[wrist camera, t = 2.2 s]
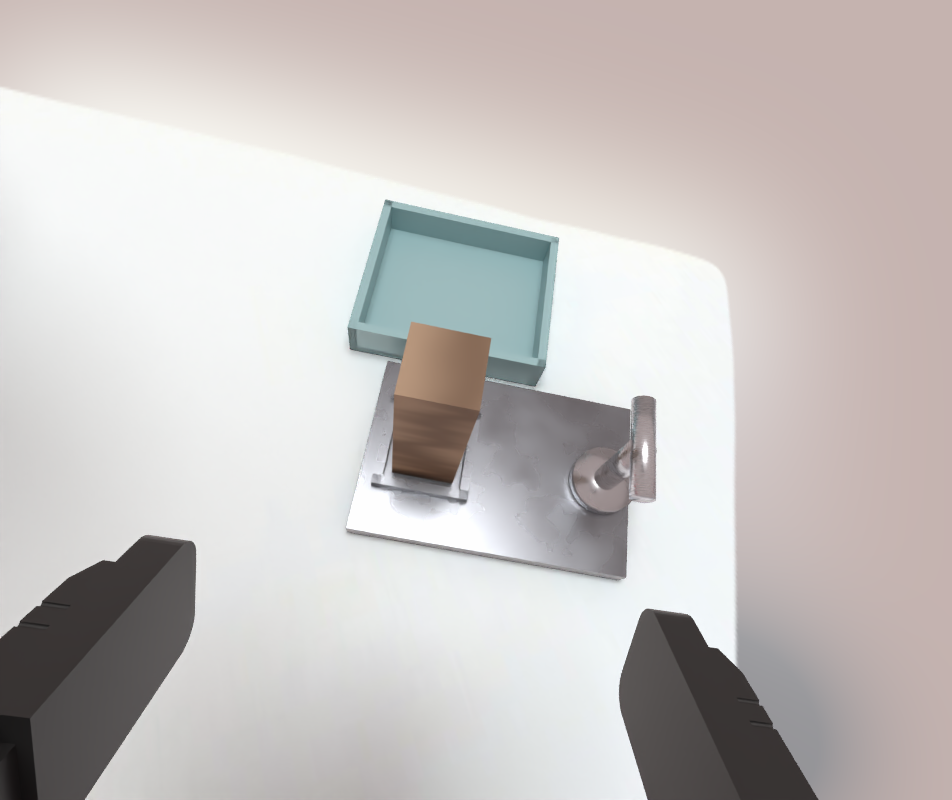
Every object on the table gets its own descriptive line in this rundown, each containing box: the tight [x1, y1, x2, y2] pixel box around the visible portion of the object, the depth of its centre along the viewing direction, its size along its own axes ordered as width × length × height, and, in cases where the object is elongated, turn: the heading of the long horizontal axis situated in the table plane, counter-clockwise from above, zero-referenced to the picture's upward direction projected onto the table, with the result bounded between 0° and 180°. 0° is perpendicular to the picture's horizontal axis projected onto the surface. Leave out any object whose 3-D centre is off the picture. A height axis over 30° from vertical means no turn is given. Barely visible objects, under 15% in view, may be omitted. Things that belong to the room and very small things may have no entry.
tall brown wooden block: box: [392, 322, 491, 484], centre depth 32 cm, size 4×4×12 cm
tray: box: [348, 200, 559, 386], centre depth 42 cm, size 14×12×3 cm
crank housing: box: [346, 361, 656, 580], centre depth 34 cm, size 18×12×9 cm, turn 82°
